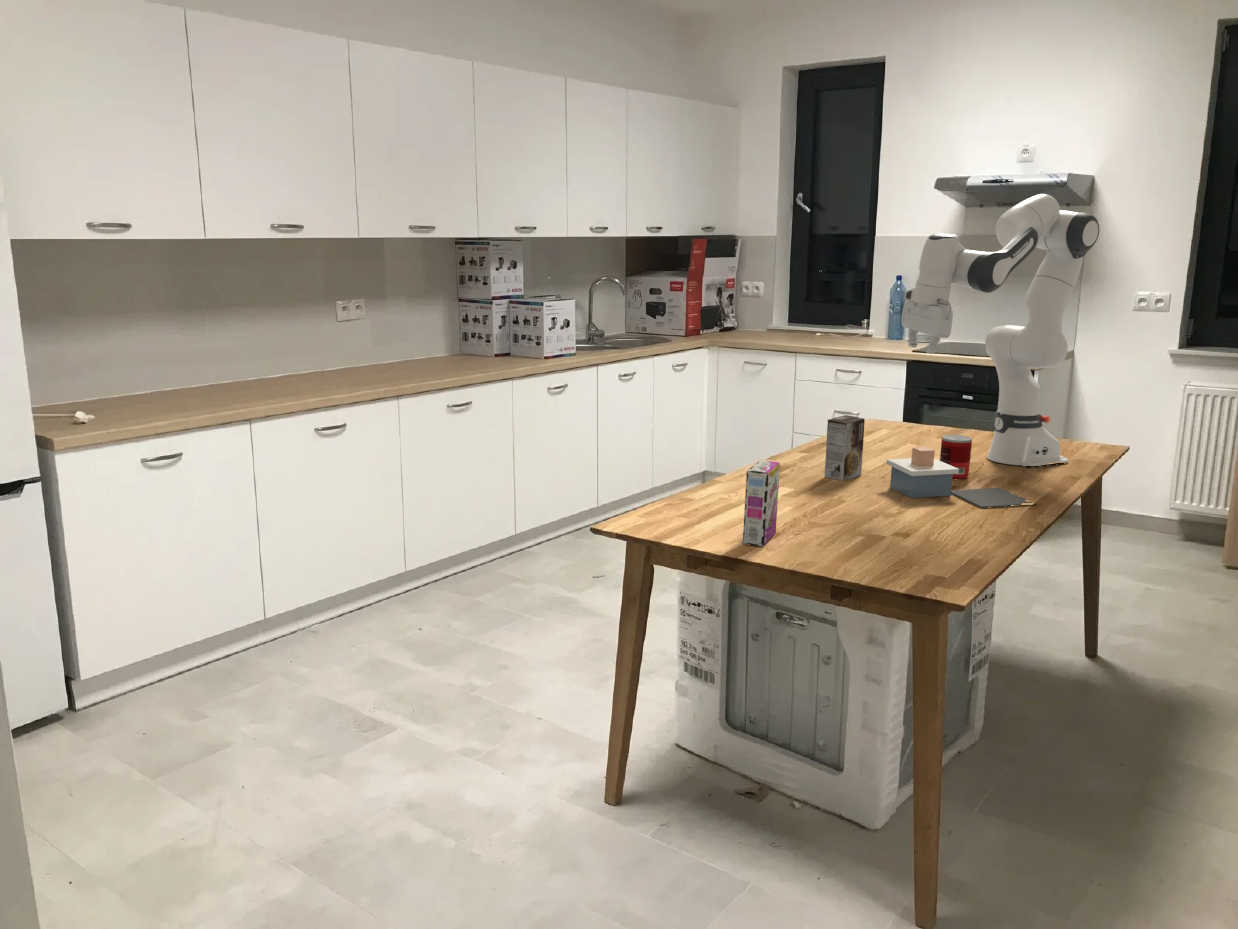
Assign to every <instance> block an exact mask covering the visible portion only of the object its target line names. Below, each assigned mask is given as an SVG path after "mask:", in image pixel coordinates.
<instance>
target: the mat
mask: <svg viewBox="0 0 1238 929" xmlns="http://www.w3.org/2000/svg"><path fill="white" fill-rule="evenodd" d="M1011 493H1012V492H1011V491H1009V490H1006V489H1004V488H1002V487H989V488H988V487H987V488H985V487H983V488H970V489H969V488H967V489H953V490H952V489H951V495H952V494H953V495H952V496H955V497H956V496H958V497H959V498H958V497H957V498H958V499H960V498H961V500H963V501H965V500H966V501H965V502H967V503H968V504H971V503H972V504H971V505H973V504H974V505H973V506H975V505H976V507H978V508H979V507H981V508H984V509H989V508H988V507H1000V508H1005V507H1004V506H1011V505H1021V504H1022V503H1032V502H1033V503H1035V502H1034V501H1032V502H1027V501H1025V500H1028V499H1027V498H1024V497H1022V496H1020V495H1018V494H1015V493H1013V494H1011ZM1019 496H1020V497H1019ZM981 508H980V509H981Z"/></svg>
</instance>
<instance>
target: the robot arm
mask: <svg viewBox="0 0 1238 929" xmlns="http://www.w3.org/2000/svg"><path fill="white" fill-rule="evenodd" d="M995 235H996V236H995V237H996V239H997V241H998V243H999V244H1000V245H1001V247H1002V248H1001V249H1000V250H999V251H980V250H971V249H967V248H966V247H964V245H962V244H961V243H960V242H959V236H958V235H957V234H954V233H947V232H945V233H941V232H940V233H933V234H930V235H928V237H927V238H926V240H925V243H924V246H923V248H922V253H921V256H920V260H919V265H918V266H919V268H918V269H919V273H918V278H917V279H916V282H915V286H914V287H913V288H911V289H909V290H907V291H905V293H904V299H905V302H904V304H903V307H902V313H901V322H900V323H901V326H902V327H903V328H905V329H908V332H907V334H908V347H911V348H917V347H918V342H919V340H918V339H917V335H918V333H923V334H925V335H929V336H930V337H929V340H930V341H929V343H928V345H926V347H925V348H926V349H925V353H927V354H935V352H936V347H937V346H938V344H939V343H940V341H941V339H948V338H949V337H950V335H951V333H952V329H953V328H952V326H953V317H954V313H953V311H954V310H953V309H952V308H953V307H952V306H951V302H950V301H949V300H950V295H951V291H952V286H954V287H959V288H964V289H971V290H975V291H978V292H981V293H982V292H983V293H988V294H989V293H993V292H995V291H997V290H998V289H999V288H1001V286H1002V285H1003V284H1004V283H1005V282H1006V280H1007V278H1008V277H1009V275H1010V274H1011V273H1012V272H1013V271H1014V270H1015V269H1016V268H1017V267H1018V266H1019V265H1020V264H1021V263H1023V261H1024V260H1026V258H1027V257H1028V256H1030V254H1031V253H1032V252H1033V251H1034V250H1035V249H1039V250H1042V251H1043V250H1044V251H1046V253H1045V257H1044V259H1043V260H1042V262H1041V263H1040V264H1039V267H1038V269H1037V270H1036V273H1035V275H1034V277H1033V278H1032V281H1031V283H1030V285H1029V288H1028V290H1027V292H1026V294H1025V296H1024V299H1023V305H1024V308H1025V309H1026V311H1027V312H1028V314H1029V316H1028V323H1027V325H1026V326H1023V325H1022V326H1021V325H1013V324H1007V325H1000V326H995V327H993V328H992V329H991V330H990V331H988V334H987V336H986V338H985V340H984V348H985V352H986V353H987V355H988V357H990V358H991V360H992V362H993V364H994V367H995V369H996V373H997V377H998V386H999V388H998V389H999V390H998V402H997V410H995V417H994V433H993V438H992V440H991V445H990V449H989V451H988V454H987V456H986V458H987V459H988V460H989V461H992V462H995V463H998V464H999V463H1000V464H1004V465H1013V466H1020V465H1021V467H1026V466H1039V467H1041V466H1040V465H1045V464H1049V463H1056V462H1068V463H1069V460H1068V458H1067V457H1065V456H1063V455H1061V444H1060V441H1059V440H1058V439H1057V438H1056V437H1055V436H1054V435H1053V434H1051V433H1050V432H1049V431H1048V430H1047V429H1046V428H1045V427H1044V426H1043V423H1044V424H1045V423H1046V424H1049V423H1050V422H1051V417H1050V416H1048V415H1045V414H1044V415H1042V414H1040V412H1039V410H1040V403H1041V395H1042V394H1041V393H1042V389H1041V386H1040V384H1039V382H1038V381H1037V380H1036V379H1035V377H1034V376H1033V373H1032V370H1031V368H1036V369H1048V368H1056V367H1058V366H1060V365H1062V363H1063V362H1064V360H1065V359H1066V358H1067V355H1068V352H1069V346H1068V341H1067V339H1066V337H1065V336H1064V334H1063V330H1062V329H1063V328H1062V325H1063V324H1062V323H1063V316H1064V314H1065V310H1066V307H1067V305H1068V302H1069V301H1070V298H1071V295H1072V293H1073V291H1074V288H1075V286H1076V284H1077V282H1078V280H1079V275H1080V272H1081V269H1082V264H1083V257H1084V256H1085V255H1086V254H1087V253H1088V252H1089V251H1090V250H1091V249H1092V248H1093V247H1094V245H1095V244H1096V243H1097V240H1098V239H1099V235H1100V224H1099V220H1098V219H1097V218H1096V216H1095V215H1092V214H1089V213H1087V212H1083V211H1081V212H1077V211H1071V210H1062V209H1061V206H1060V204H1059V201H1058V200H1057V199H1056V198H1055V197H1053V196H1052V195H1050V194H1046V193H1039V194H1036V195H1033V196H1031V197H1028V198H1026V199H1024V200H1022V201H1020V202H1018V203H1017V204H1015V205H1013V206H1012V207H1010V208H1009V209H1008V210H1006V211H1004V213H1003V214H1001V215H1000V217H999V218H998V220H997V221H996V224H995Z"/></svg>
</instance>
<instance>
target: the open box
mask: <svg viewBox="0 0 1238 929" xmlns="http://www.w3.org/2000/svg"><path fill="white" fill-rule="evenodd" d="M890 471H891V472H890V481H889V482H890V483H889V487H890V488H891V489H893V490H895V491H897V492H899V493H901V494H903V495H904V496H907V497H909V498H911V499H913V498H914V499H916V498H932V497H933V498H934V497H935V496H937V497H948V496H949V497H950V496H952V494H951V490H952V484H953V480H952V477H953V474H942V475H923V476H911V475H909V474H906V473H904V472H902V471H900V470H898V469H896V468H894V467H892V466H891V470H890Z"/></svg>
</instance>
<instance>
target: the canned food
mask: <svg viewBox="0 0 1238 929" xmlns="http://www.w3.org/2000/svg"><path fill="white" fill-rule="evenodd" d="M940 443H941V444H940V453H939V456H940V457H939V461H942V462H944V463H946V464H949V465H951V466H953V467H956V468H958V469H959V474H953V477H952V479H963V480H966V479H968V477H969V473H970V464H971V455H972V454H971V453H972V444H973V438H972V437H970V436H968V435H962V434H946V435H945V434H944V435H942V437H941V442H940Z"/></svg>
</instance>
